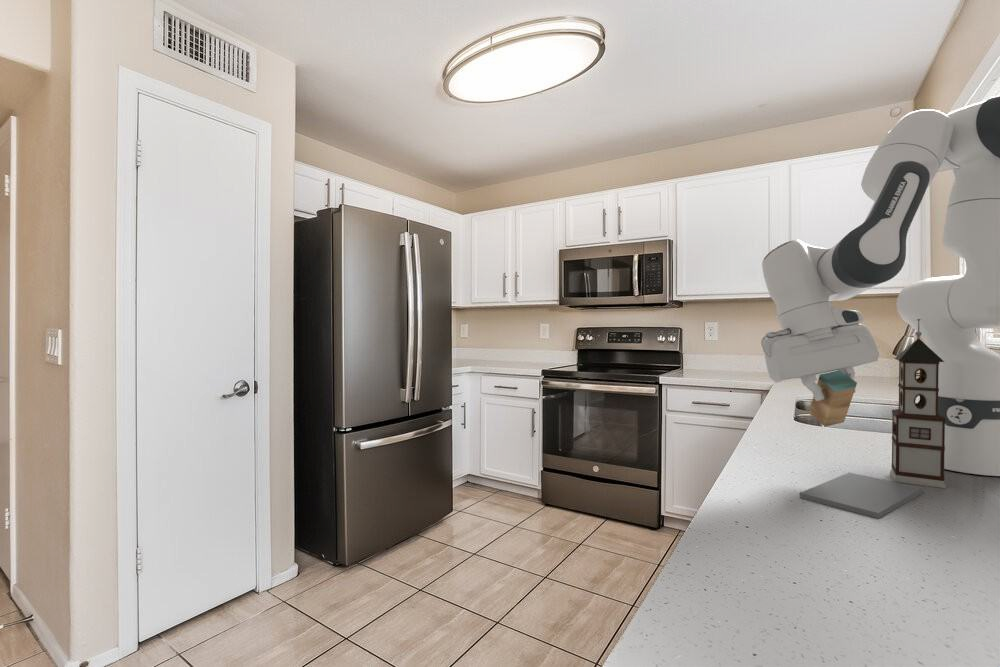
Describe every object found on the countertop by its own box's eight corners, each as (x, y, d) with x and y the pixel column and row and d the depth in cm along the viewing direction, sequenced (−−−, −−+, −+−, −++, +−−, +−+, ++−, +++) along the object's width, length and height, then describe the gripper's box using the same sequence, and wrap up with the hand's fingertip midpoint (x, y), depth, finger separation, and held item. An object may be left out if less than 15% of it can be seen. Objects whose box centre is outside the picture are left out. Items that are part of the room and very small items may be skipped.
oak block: (808, 413, 95) (819, 374, 90) (827, 409, 96) (839, 370, 91) (824, 426, 92) (836, 387, 87) (843, 422, 92) (857, 382, 88)
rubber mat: (849, 476, 95) (849, 472, 95) (922, 492, 86) (922, 487, 86) (799, 497, 83) (799, 492, 83) (878, 518, 74) (878, 512, 74)
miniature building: (893, 481, 92) (896, 318, 92) (889, 472, 98) (891, 318, 97) (946, 488, 88) (948, 318, 88) (938, 478, 94) (940, 318, 94)
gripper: (768, 329, 89) (795, 405, 86) (869, 310, 92) (899, 383, 89) (748, 338, 95) (773, 410, 92) (843, 320, 98) (870, 389, 95)
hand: (835, 397), depth 90 cm, fingers closed on oak block, 4 cm apart
